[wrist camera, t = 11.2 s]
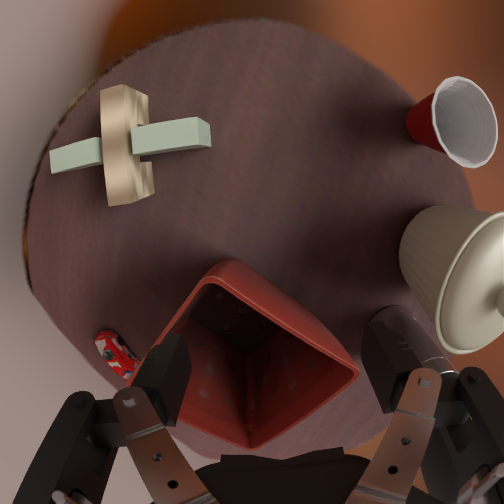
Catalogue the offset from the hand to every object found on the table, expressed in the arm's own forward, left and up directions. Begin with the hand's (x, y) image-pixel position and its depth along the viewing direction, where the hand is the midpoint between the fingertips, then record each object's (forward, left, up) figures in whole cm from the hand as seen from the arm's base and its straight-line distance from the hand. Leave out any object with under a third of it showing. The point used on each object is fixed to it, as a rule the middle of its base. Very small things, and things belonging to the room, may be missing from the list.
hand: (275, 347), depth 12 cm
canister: (-14, -23, -28) cm, 38 cm away
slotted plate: (+16, +11, -27) cm, 34 cm away
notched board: (+16, +11, -27) cm, 34 cm away
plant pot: (-12, +8, -28) cm, 31 cm away
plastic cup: (+4, -27, -28) cm, 39 cm away
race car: (-14, +34, -28) cm, 46 cm away
